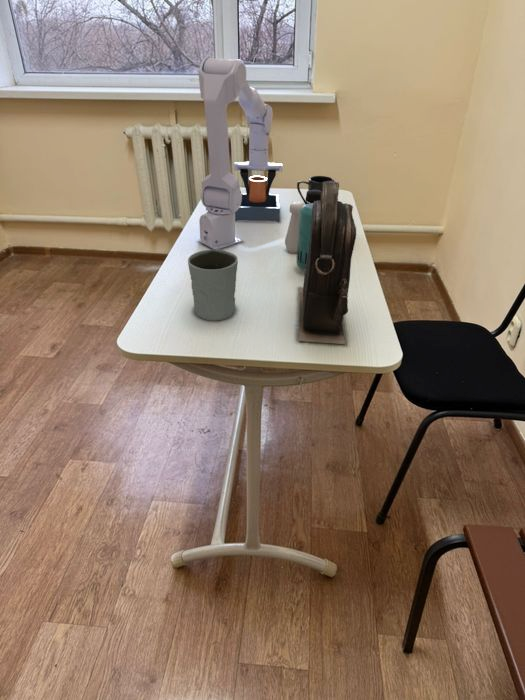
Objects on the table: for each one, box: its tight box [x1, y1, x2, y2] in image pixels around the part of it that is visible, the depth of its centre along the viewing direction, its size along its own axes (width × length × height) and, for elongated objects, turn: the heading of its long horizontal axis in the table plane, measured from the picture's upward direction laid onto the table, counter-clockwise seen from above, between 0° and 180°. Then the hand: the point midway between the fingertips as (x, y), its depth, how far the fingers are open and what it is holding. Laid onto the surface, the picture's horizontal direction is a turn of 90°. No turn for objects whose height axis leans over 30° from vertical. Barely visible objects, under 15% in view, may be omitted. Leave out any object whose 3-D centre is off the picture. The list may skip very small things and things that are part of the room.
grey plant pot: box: [187, 249, 239, 322], centre depth 99 cm, size 10×10×12 cm
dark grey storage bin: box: [235, 192, 281, 222], centre depth 151 cm, size 14×14×4 cm
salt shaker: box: [284, 201, 305, 254], centre depth 126 cm, size 6×6×13 cm
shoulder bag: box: [298, 180, 357, 345], centre depth 94 cm, size 23×9×28 cm, turn 176°
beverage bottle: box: [296, 190, 322, 271], centre depth 114 cm, size 6×7×20 cm
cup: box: [248, 175, 268, 202], centre depth 147 cm, size 6×6×6 cm
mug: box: [296, 175, 335, 205], centre depth 155 cm, size 8×12×10 cm
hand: (257, 194), depth 148 cm, fingers closed on cup, 5 cm apart
